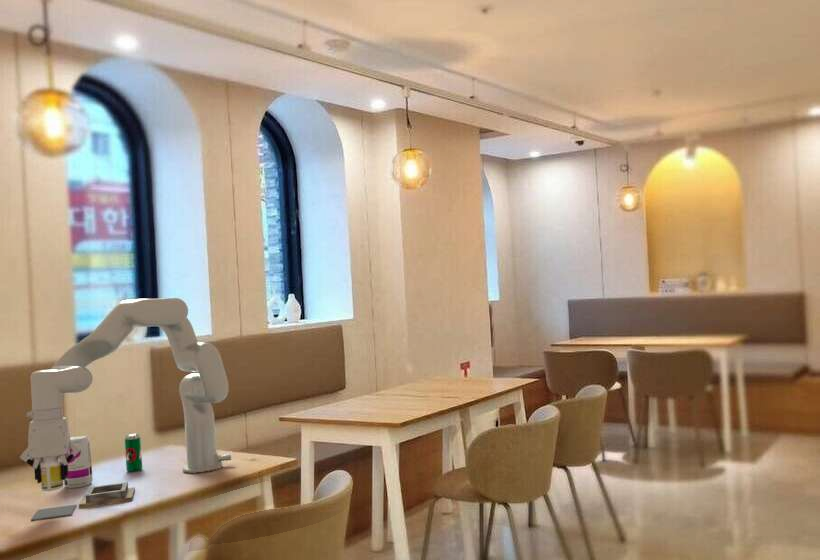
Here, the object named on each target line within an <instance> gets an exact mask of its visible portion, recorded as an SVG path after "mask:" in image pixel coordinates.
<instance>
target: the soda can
mask: <svg viewBox="0 0 820 560" xmlns="http://www.w3.org/2000/svg"><path fill="white" fill-rule="evenodd" d="M141 439H142V438H141V436H140V434H138V433H131V434H127V435H125V437H124V453H125V466H126V467H125V468H126V471H127V472H128V473H136V472H140V471H142V470H143V456H142V441H141Z"/></svg>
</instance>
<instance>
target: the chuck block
mask: <svg viewBox="0 0 820 560" xmlns="http://www.w3.org/2000/svg"><path fill="white" fill-rule="evenodd" d="M135 491H136V487H135V486H134V487H133V486H132V487H129V481H126V482H119V483H109V484H103V485H95V486H90V487H89V489H88V490H87V492H86V493H84V494H83V496H82V498H81V500H80V501H79V503H78V508H79V509H82V508H89V507H96V505H98V506H103V505H102V504H105V505H111V504H110V503H112V504H119V503H125V502H126V503H127V502H132V501H133V499H134V496H135ZM133 495H134V496H133Z"/></svg>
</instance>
